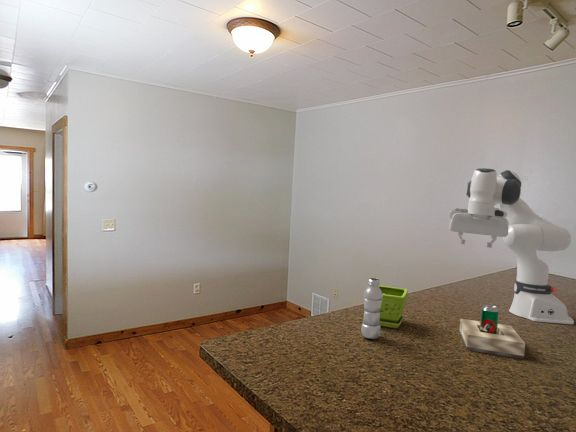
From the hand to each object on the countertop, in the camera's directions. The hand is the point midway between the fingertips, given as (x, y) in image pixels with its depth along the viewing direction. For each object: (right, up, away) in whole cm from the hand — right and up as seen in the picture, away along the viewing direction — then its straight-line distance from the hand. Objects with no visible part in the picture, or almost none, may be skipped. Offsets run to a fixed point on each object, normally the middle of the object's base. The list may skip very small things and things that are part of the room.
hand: (475, 245), depth 140 cm
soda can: (-6, -31, -20) cm, 37 cm away
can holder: (-6, -32, -19) cm, 37 cm away
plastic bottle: (-45, -30, -18) cm, 57 cm away
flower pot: (-36, -29, -3) cm, 47 cm away
